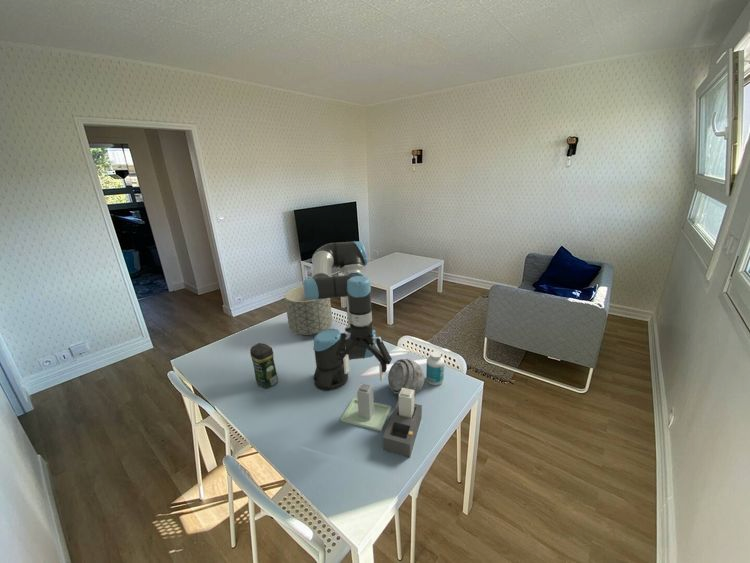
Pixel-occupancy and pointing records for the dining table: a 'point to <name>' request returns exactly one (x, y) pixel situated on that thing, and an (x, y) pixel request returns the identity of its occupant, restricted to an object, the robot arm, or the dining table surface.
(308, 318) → the planter
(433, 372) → the pill bottle
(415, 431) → the charging dock
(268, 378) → the coffee jar
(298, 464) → the dining table surface
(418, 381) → the decorative orb
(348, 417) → the tray
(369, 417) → the plug
